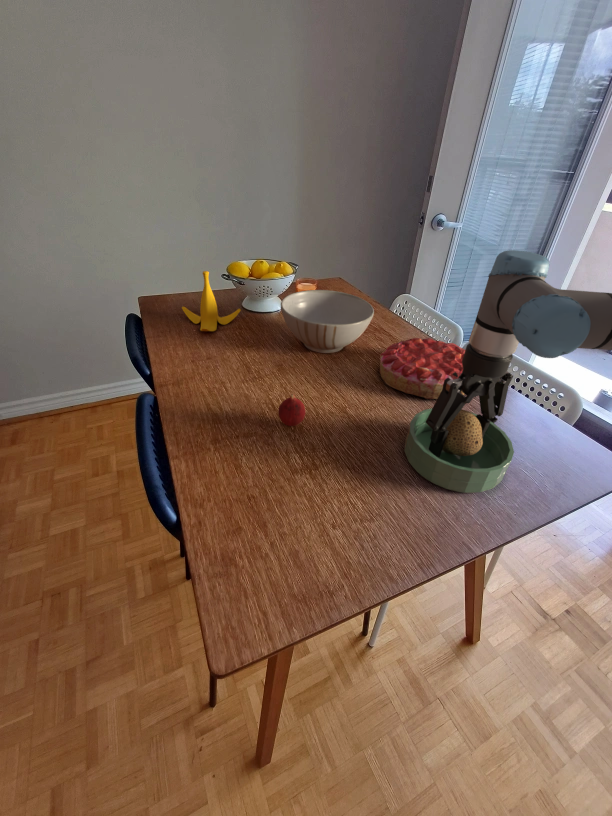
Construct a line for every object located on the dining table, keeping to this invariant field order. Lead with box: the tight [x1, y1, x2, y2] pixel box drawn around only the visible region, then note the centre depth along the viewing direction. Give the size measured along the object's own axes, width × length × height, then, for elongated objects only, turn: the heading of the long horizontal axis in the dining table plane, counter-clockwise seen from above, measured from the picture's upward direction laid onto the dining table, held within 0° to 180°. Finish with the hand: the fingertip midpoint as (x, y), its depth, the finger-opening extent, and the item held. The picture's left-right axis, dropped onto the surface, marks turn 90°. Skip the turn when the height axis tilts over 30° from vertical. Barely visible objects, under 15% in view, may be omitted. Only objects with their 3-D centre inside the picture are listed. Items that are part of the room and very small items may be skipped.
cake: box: [379, 337, 466, 400], centre depth 106 cm, size 25×25×8 cm
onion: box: [277, 393, 306, 427], centre depth 85 cm, size 6×6×8 cm
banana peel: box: [181, 270, 242, 332], centre depth 121 cm, size 17×19×17 cm
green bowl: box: [403, 407, 515, 494], centre depth 80 cm, size 20×20×6 cm
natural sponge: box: [442, 409, 483, 456], centre depth 79 cm, size 9×9×10 cm
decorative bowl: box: [280, 289, 375, 354], centre depth 117 cm, size 27×27×12 cm
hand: (453, 448), depth 80 cm, fingers closed on natural sponge, 9 cm apart
